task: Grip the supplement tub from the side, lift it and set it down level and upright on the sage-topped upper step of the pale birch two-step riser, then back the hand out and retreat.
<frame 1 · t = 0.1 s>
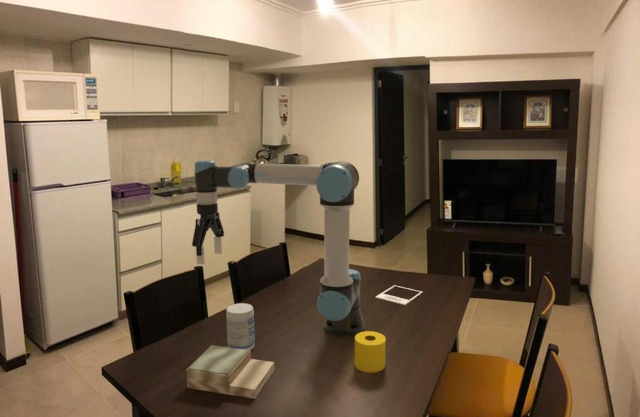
hand: (209, 258, 180), 28 cm above the table, tool pointing down, fingers open, 13 cm apart
photo frame: (399, 296, 218), on the table
yellow hollow cylinder: (369, 365, 158), on the table
supplement tub: (241, 347, 170), on the table
birch riser: (232, 379, 150), on the table
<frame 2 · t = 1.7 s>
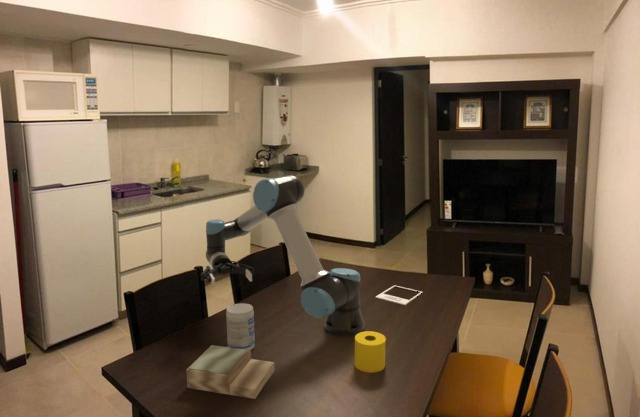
hand: (232, 280, 175), 22 cm above the table, tool horizontal, fingers open, 13 cm apart
nothing on the table moved.
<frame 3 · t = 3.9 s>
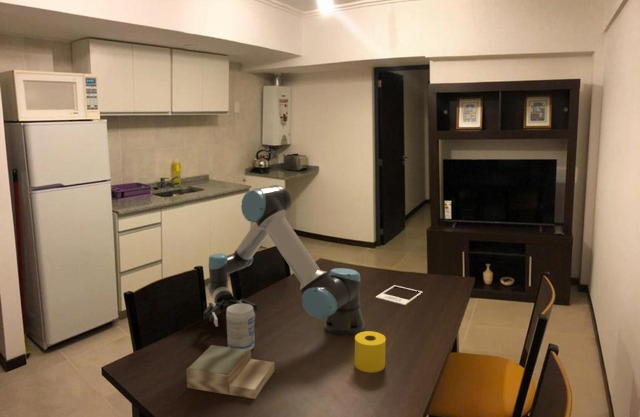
hand: (235, 319, 174), 8 cm above the table, tool horizontal, fingers open, 13 cm apart
nothing on the table moved.
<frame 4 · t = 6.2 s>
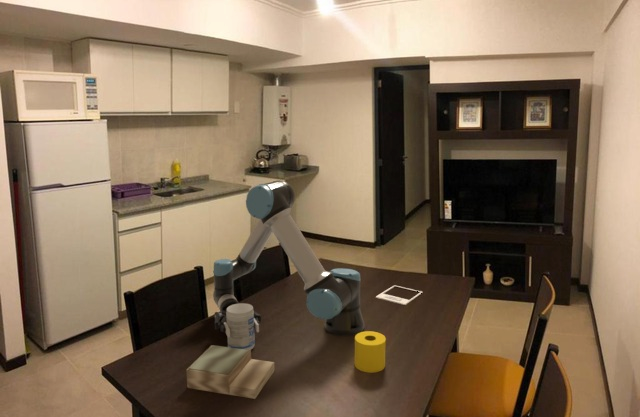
hand: (243, 331, 164), 8 cm above the table, tool horizontal, fingers closed on supplement tub, 9 cm apart
supplement tub: (241, 347, 170), on the table, touching gripper
everything else where it was.
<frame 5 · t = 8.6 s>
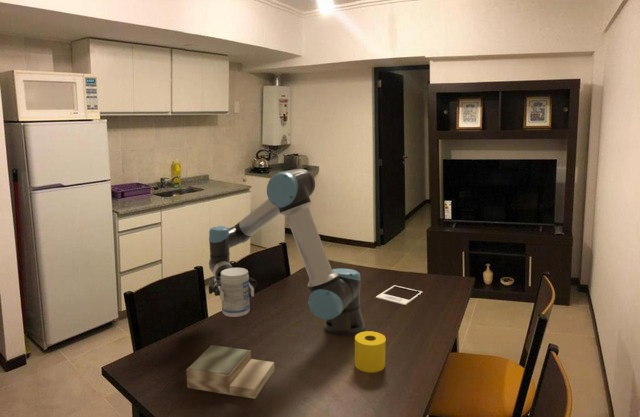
hand: (237, 294, 160), 22 cm above the table, tool horizontal, fingers closed on supplement tub, 9 cm apart
supplement tub: (236, 312, 166), point 14 cm above the table, touching gripper
everything else where it was.
when the fingers open (16 cm above the table, at t = 11.5 s): supplement tub drops 1 cm, resting on birch riser.
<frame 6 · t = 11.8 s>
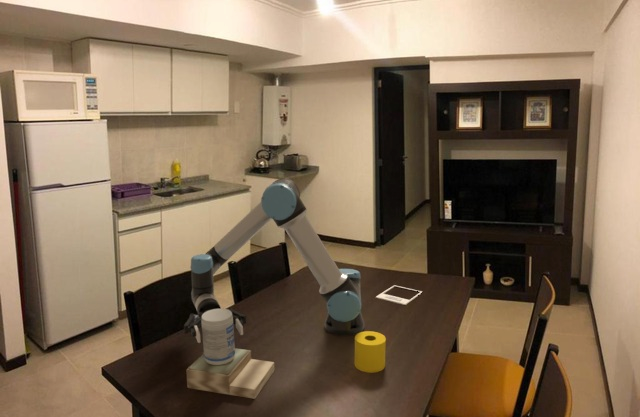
hand: (220, 334, 144), 16 cm above the table, tool horizontal, fingers open, 12 cm apart
supplement tub: (220, 358, 150), point 6 cm above the table, touching birch riser
everything else where it was.
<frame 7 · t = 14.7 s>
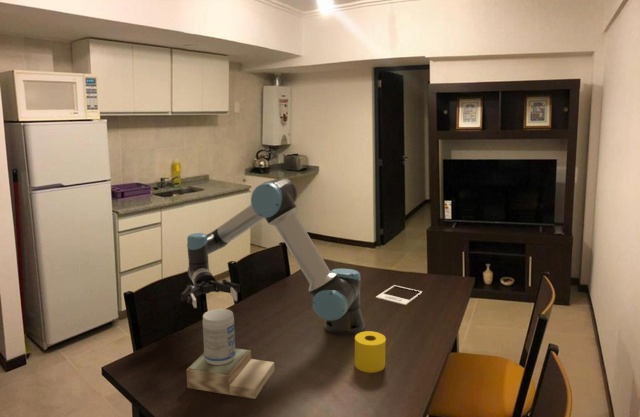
hand: (216, 300, 160), 20 cm above the table, tool horizontal, fingers open, 13 cm apart
nothing on the table moved.
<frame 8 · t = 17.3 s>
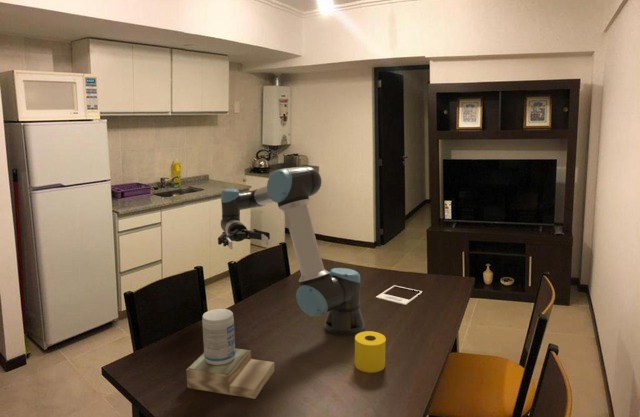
hand: (249, 243, 178), 34 cm above the table, tool horizontal, fingers open, 13 cm apart
nothing on the table moved.
at the end: supplement tub inside the target area on the birch riser (0.1 cm from its centre), point 6.1 cm above the birch riser's base; supplement tub tilted 0°; the gripper is holding nothing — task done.
